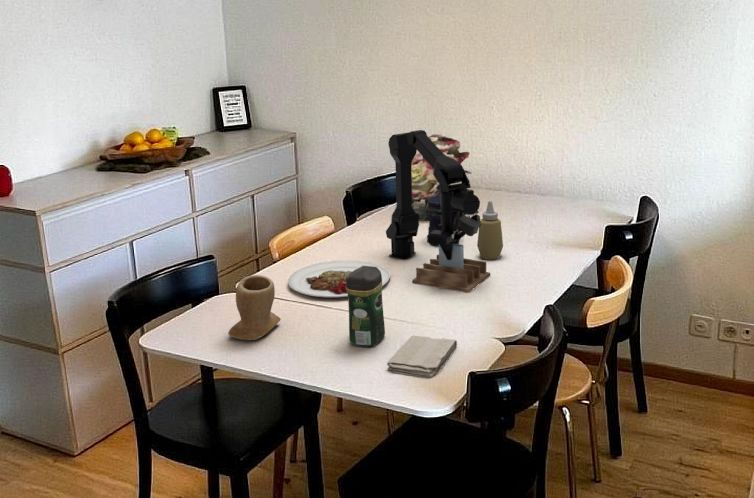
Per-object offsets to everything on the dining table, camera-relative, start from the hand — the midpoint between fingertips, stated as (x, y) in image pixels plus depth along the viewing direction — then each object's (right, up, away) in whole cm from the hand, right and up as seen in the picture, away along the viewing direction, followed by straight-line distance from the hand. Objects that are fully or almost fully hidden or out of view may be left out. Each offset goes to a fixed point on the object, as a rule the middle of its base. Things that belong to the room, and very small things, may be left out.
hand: (451, 258), depth 245 cm
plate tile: (0, -3, +1) cm, 4 cm away
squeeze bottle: (+14, 0, +20) cm, 24 cm away
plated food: (-33, -8, +4) cm, 34 cm away
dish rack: (0, -6, +2) cm, 6 cm away
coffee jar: (-24, -20, -36) cm, 47 cm away
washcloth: (-11, -24, -47) cm, 54 cm away
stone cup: (-52, -19, -28) cm, 62 cm away
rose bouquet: (-1, +15, +68) cm, 70 cm away
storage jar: (+1, +5, +35) cm, 36 cm away
